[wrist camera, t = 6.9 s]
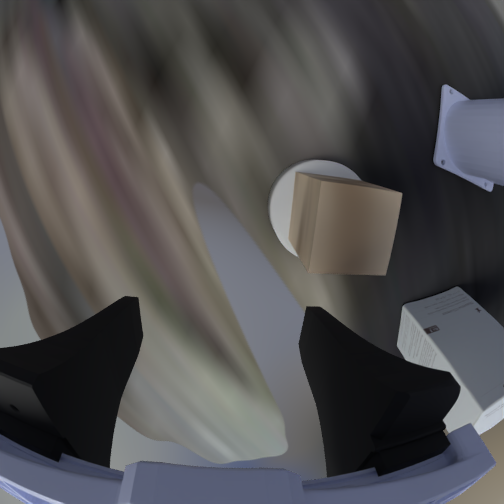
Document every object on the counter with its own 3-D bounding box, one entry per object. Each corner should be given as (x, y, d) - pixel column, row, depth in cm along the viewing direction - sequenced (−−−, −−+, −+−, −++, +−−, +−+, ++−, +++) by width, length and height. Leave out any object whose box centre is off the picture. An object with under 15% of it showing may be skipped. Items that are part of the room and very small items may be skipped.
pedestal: (364, 171, 20) (379, 174, 18) (343, 255, 22) (355, 267, 20) (277, 150, 19) (283, 150, 17) (259, 242, 21) (263, 254, 19)
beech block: (359, 180, 18) (402, 193, 13) (349, 243, 19) (385, 275, 14) (295, 171, 17) (321, 180, 12) (288, 239, 19) (308, 273, 14)
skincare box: (457, 284, 25) (547, 361, 11) (448, 327, 27) (519, 407, 13) (397, 305, 25) (486, 412, 11) (392, 350, 27) (458, 453, 13)
